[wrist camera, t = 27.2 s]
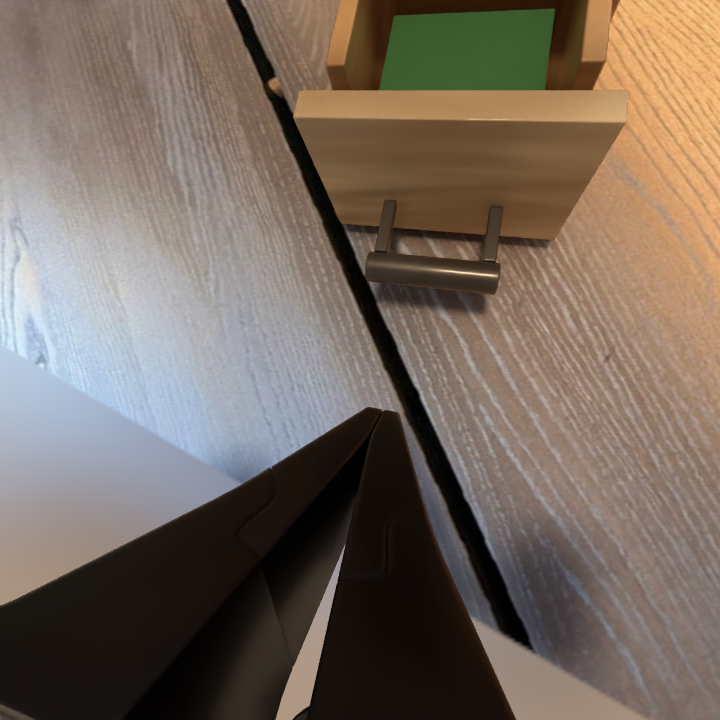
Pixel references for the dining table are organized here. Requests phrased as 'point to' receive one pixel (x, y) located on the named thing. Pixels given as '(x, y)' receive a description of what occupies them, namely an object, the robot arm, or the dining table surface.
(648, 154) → the dining table surface
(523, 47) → the sponge
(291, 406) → the dining table surface
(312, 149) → the drawer
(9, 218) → the dining table surface
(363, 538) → the robot arm
